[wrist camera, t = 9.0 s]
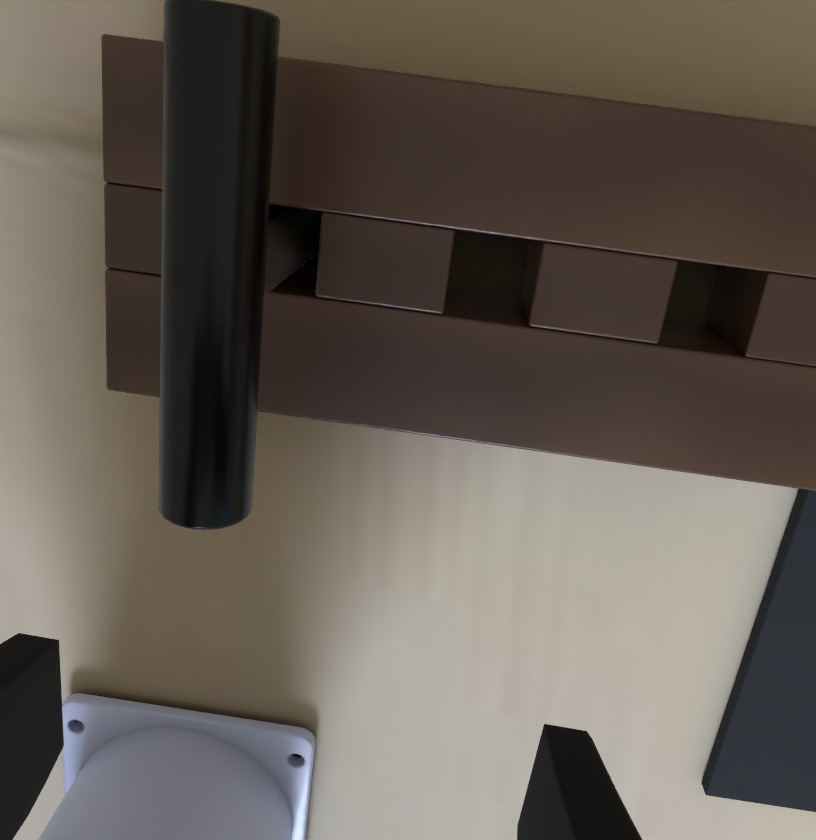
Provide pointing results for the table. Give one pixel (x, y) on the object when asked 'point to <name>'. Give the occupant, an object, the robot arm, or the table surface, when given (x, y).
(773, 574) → the mat
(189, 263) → the black t handle tool
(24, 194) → the table surface
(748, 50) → the table surface
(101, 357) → the table surface
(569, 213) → the rack
